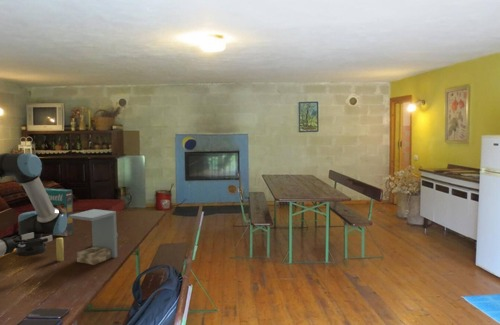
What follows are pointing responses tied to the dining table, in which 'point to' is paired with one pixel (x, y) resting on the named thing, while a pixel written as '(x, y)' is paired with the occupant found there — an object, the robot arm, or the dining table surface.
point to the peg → (59, 249)
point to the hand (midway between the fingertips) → (42, 236)
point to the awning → (101, 228)
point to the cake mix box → (63, 206)
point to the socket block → (93, 255)
